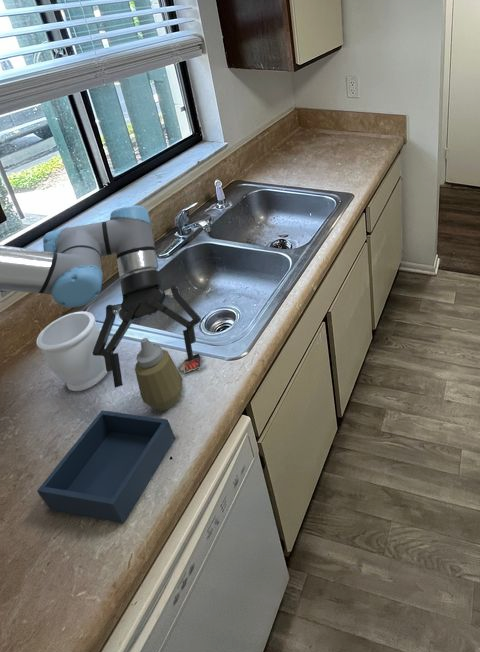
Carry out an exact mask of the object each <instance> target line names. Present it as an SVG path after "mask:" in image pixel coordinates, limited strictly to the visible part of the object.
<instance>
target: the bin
mask: <svg viewBox="0 0 480 652" xmlns="http://www.w3.org/2000/svg"><path fill="white" fill-rule="evenodd" d="M175 441H176V436H175V433H174V431H173V428H172V426H171V424H170V422H169V419H166V418H160V417H154V416H153V417H152V416H146V415H140V414H132V413H131V414H130V413H126V412H125V413H124V412H117V411H112V410H111V411H110V410H103V409H102V410H101V411H100V412H99V413H98V414H97V415H96V416H95V418H94V419H93V420H92V421H91V423H90V424H89V425H88V427H87V428H86V429H85V430H84V432H83V433H82V434H81V436H80V437H78V439H77V440H76V441H75V442H74V444H73V445H72V447H71V448H70V449H69V450H68V451H67V453H66V454H65V455H64V456H63V458H62V459H61V460H60V462H59V463H58V464H57V465H56V466H55V468H54V469H52V471H51V472H50V473H49V475H48V476H47V477H46V478H45V480H44V481H43V482H42V484H41V485H40V486H39V488H38V489H37V490H36V492H37V494H38V495H39V497H40V498H41V499H42V501H43V502H44V504H45V506H46V507H47V508H48V510H49V511H51V512H56V513H62V514H69V515H73V516H79V517H85V518H90V519H94V520H95V519H96V520H100V521H107V522H112V523H117V524H122V525H124V524H125V523H126V521H127V519H128V517H129V516H130V514H131V513H132V511H133V509H134V508H135V506H136V504H137V503H138V501H139V500H140V499H141V496H142V494H143V493H144V491H146V488H147V486H148V485H149V483H150V481H151V479H152V478H153V477H154V475H155V473H156V471H157V470H158V468H159V466H160V465H161V463H162V462H163V460H164V459H165V457H166V455H167V453H168V452H169V450H170V449H171V447H172V446H173V444H174V442H175Z"/></svg>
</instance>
